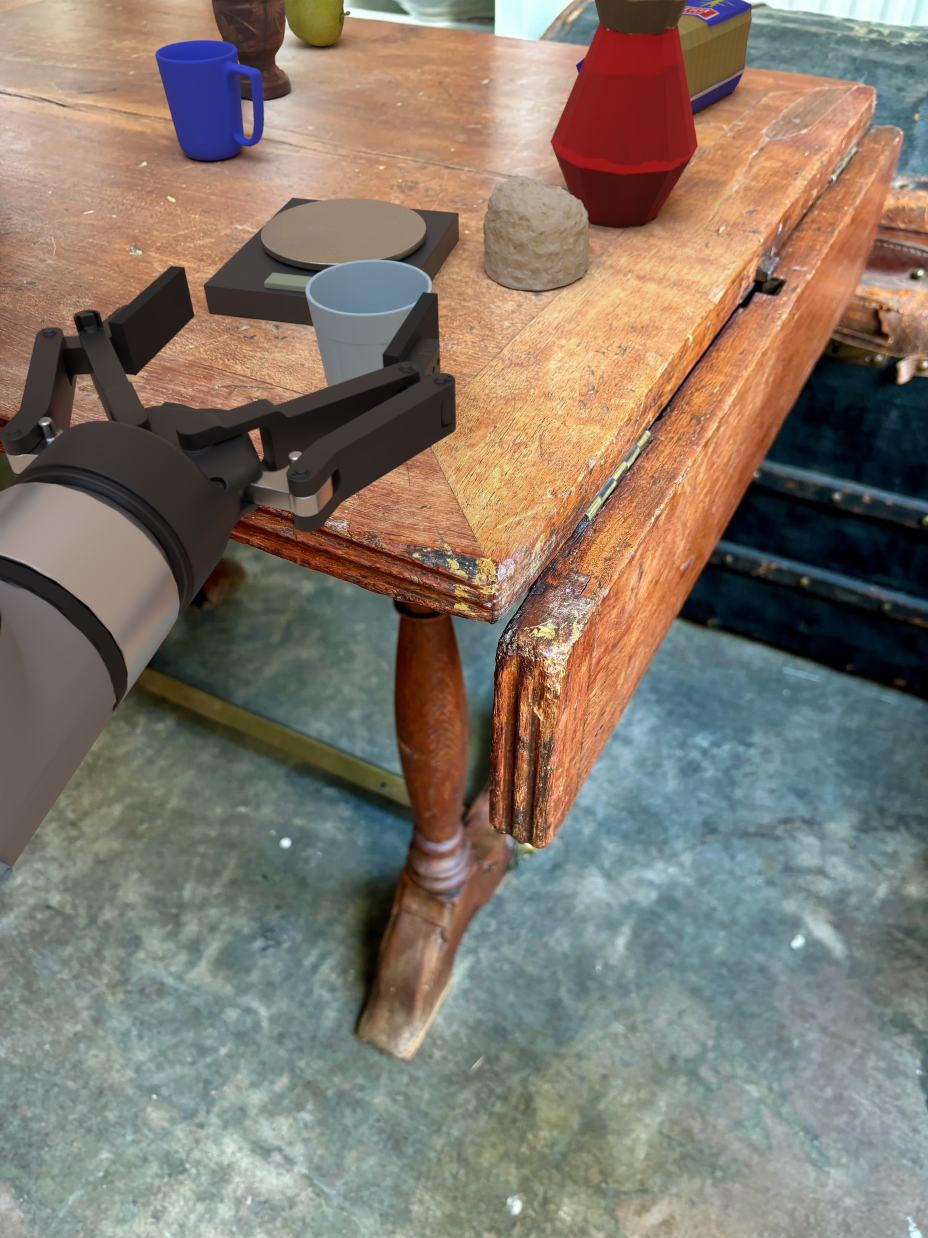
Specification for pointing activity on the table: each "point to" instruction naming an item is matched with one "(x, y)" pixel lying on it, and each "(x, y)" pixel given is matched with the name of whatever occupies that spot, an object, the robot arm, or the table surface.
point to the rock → (535, 235)
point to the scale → (304, 273)
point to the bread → (712, 47)
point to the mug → (209, 97)
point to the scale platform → (342, 233)
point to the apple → (316, 20)
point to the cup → (361, 312)
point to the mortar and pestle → (255, 40)
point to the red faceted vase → (628, 115)
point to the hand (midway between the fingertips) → (304, 303)
